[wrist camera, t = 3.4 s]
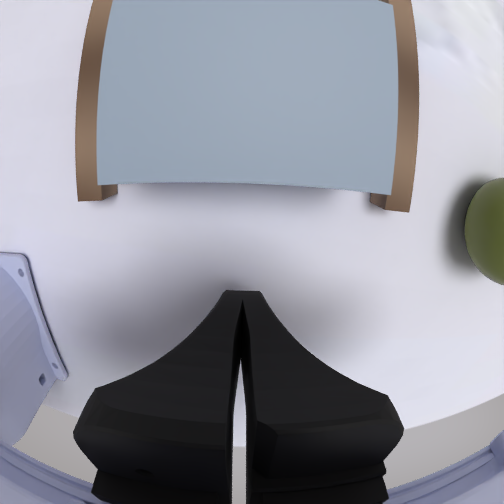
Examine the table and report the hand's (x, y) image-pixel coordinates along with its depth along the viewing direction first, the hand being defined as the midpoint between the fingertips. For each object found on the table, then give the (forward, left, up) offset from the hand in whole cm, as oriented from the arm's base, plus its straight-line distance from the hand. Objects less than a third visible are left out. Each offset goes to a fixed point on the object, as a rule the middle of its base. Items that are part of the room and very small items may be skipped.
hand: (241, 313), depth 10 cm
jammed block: (+8, 0, -3) cm, 8 cm away
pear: (+4, -15, -3) cm, 16 cm away
